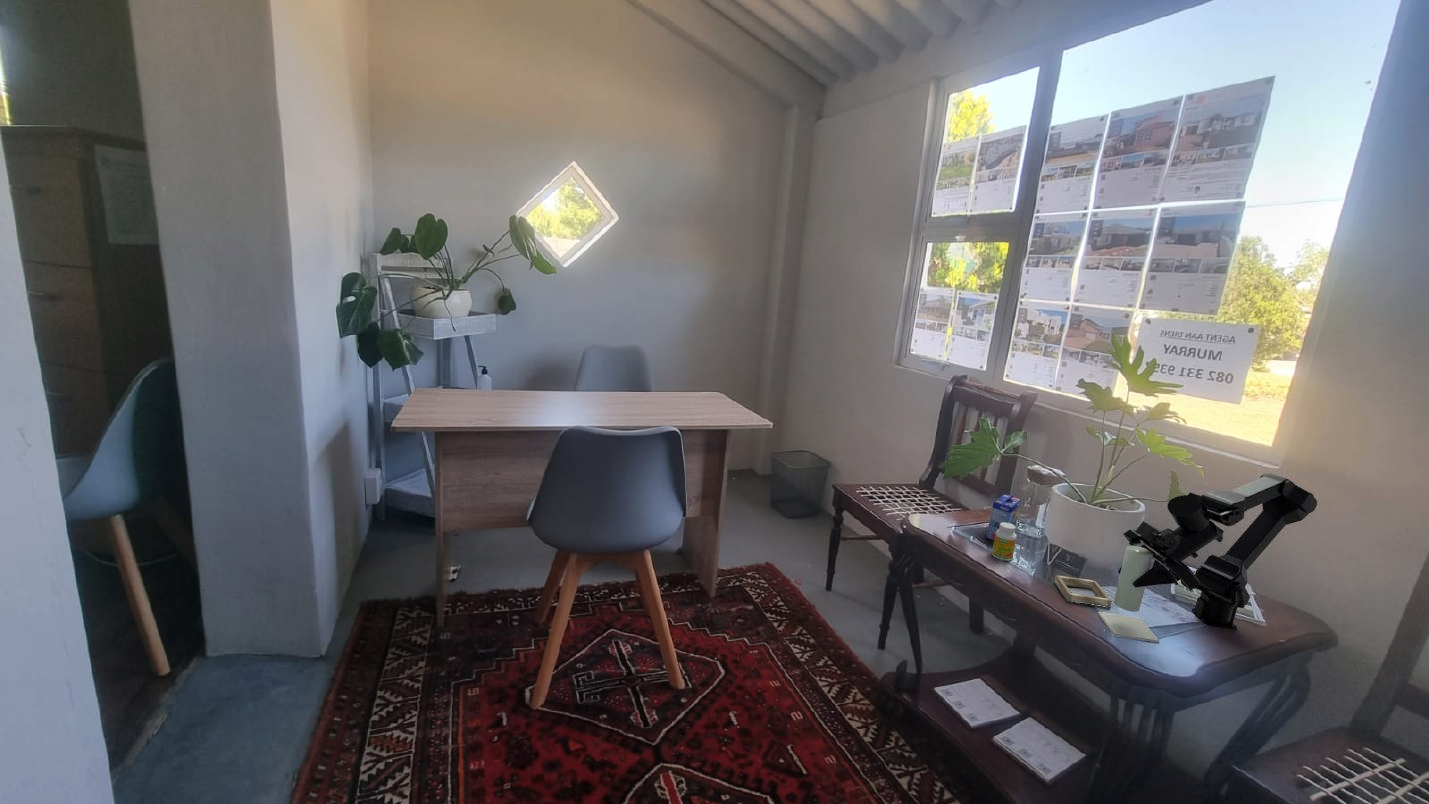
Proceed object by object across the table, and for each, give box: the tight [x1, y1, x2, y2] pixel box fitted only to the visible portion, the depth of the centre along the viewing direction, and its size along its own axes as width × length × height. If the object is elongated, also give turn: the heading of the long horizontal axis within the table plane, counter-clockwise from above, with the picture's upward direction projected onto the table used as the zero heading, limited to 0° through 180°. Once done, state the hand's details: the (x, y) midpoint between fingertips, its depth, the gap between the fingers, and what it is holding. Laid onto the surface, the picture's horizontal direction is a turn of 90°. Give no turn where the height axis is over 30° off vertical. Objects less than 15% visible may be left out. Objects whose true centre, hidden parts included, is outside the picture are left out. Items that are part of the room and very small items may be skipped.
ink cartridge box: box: [985, 492, 1022, 541], centre depth 178 cm, size 10×6×14 cm, turn 136°
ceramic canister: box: [1113, 545, 1153, 613], centre depth 134 cm, size 5×5×14 cm
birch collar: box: [1053, 575, 1113, 609], centre depth 148 cm, size 10×10×2 cm
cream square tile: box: [1097, 611, 1160, 644], centre depth 135 cm, size 9×9×1 cm
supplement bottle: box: [991, 522, 1017, 562], centre depth 165 cm, size 5×5×10 cm
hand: (1126, 579), depth 134 cm, fingers closed on ceramic canister, 5 cm apart
